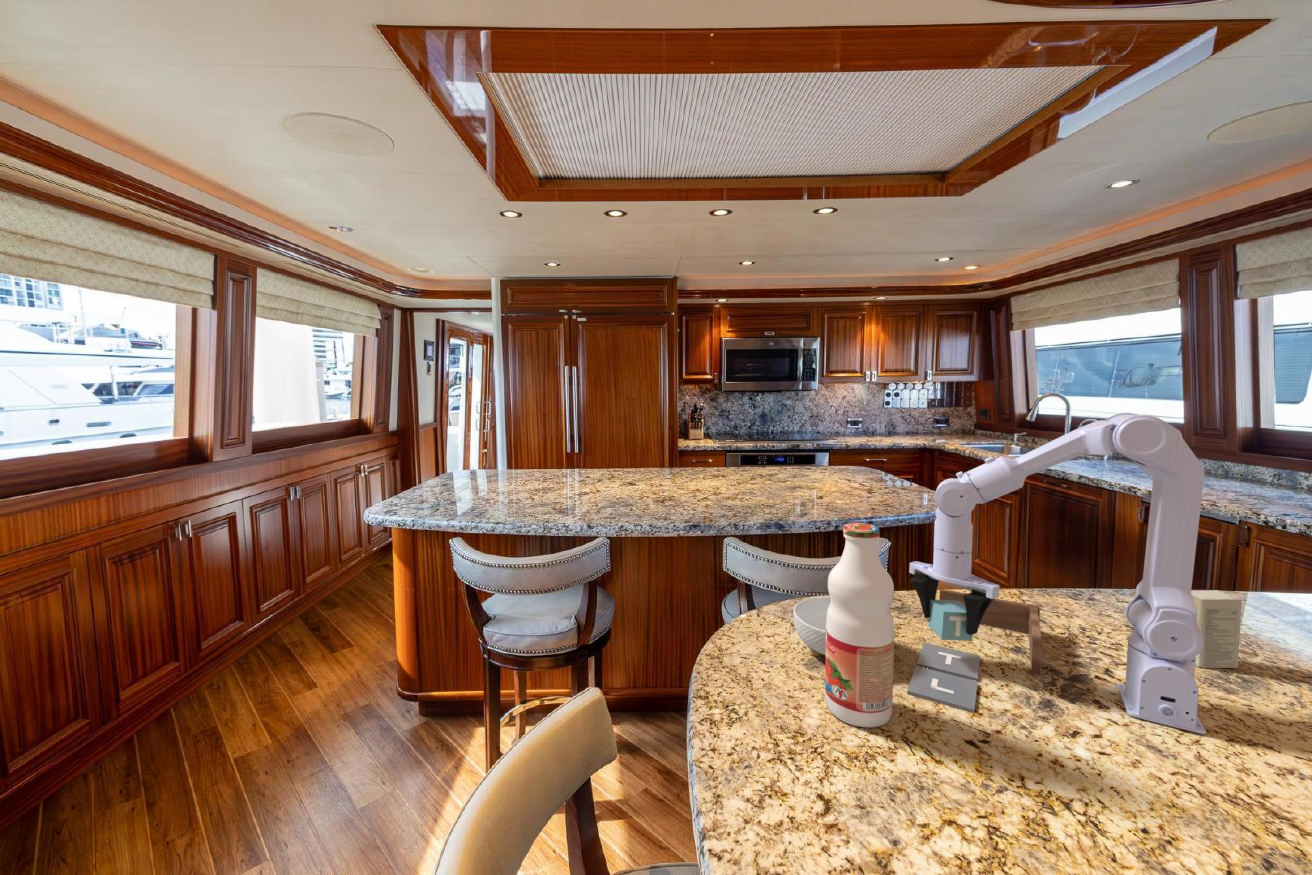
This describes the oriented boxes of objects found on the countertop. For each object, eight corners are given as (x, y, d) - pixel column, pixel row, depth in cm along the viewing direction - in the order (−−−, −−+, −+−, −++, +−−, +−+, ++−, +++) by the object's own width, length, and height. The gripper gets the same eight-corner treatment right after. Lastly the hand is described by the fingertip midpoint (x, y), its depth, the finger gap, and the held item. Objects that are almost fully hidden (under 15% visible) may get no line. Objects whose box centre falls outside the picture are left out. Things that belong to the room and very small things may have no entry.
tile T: (977, 681, 84) (977, 678, 84) (916, 665, 89) (916, 662, 89) (980, 658, 92) (980, 655, 92) (923, 644, 97) (923, 642, 97)
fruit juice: (892, 736, 71) (897, 537, 69) (821, 720, 75) (824, 531, 72) (891, 699, 80) (896, 521, 77) (827, 686, 83) (830, 516, 81)
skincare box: (1214, 656, 91) (1219, 589, 90) (1239, 669, 87) (1244, 599, 86) (1174, 655, 92) (1179, 588, 91) (1197, 667, 87) (1202, 598, 86)
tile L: (974, 712, 76) (974, 709, 76) (907, 693, 81) (907, 690, 81) (977, 684, 83) (977, 681, 83) (915, 668, 88) (915, 665, 88)
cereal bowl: (783, 660, 92) (783, 622, 91) (803, 623, 106) (803, 590, 106) (887, 684, 84) (888, 642, 83) (893, 641, 98) (894, 605, 98)
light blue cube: (972, 641, 87) (974, 613, 87) (942, 640, 88) (944, 611, 87) (957, 627, 92) (959, 600, 92) (928, 626, 93) (930, 599, 92)
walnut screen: (1043, 676, 85) (1045, 644, 85) (928, 649, 95) (929, 620, 94) (1038, 633, 101) (1039, 606, 100) (939, 613, 110) (940, 588, 110)
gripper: (1010, 555, 84) (1007, 635, 86) (926, 535, 97) (924, 605, 98) (987, 563, 81) (983, 646, 82) (903, 541, 94) (901, 613, 95)
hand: (949, 624), depth 90 cm, fingers closed on light blue cube, 7 cm apart
